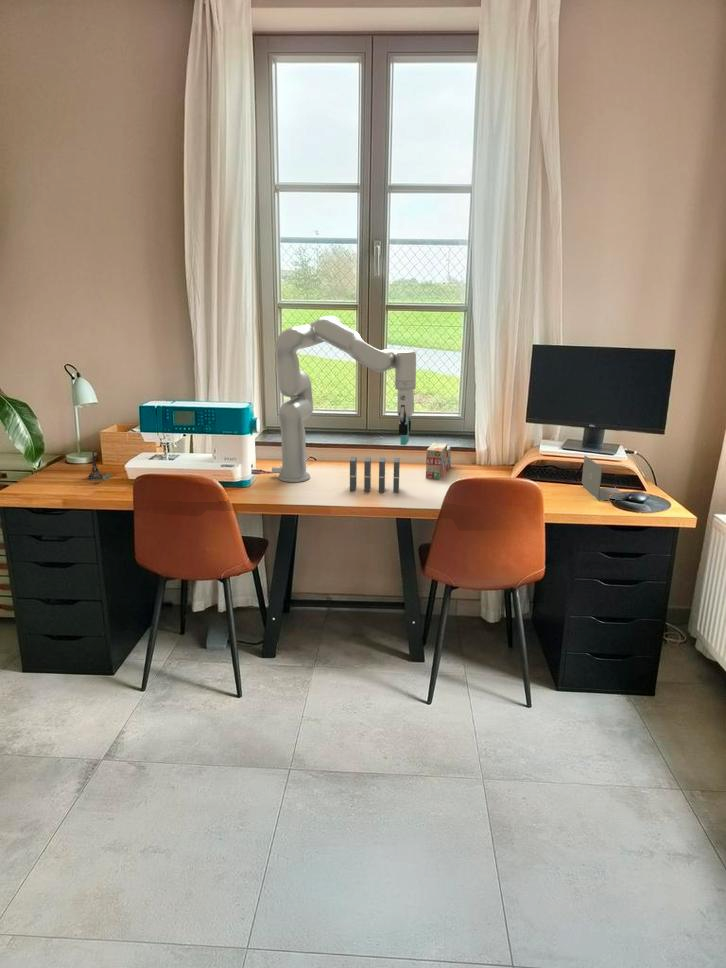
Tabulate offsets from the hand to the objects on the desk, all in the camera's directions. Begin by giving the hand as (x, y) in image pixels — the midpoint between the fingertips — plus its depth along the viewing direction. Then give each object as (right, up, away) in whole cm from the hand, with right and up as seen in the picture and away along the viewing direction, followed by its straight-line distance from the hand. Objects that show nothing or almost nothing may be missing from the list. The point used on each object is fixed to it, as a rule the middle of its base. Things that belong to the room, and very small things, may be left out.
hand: (404, 432), depth 248 cm
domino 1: (-19, -21, +6) cm, 29 cm away
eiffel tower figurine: (-123, -18, +18) cm, 125 cm away
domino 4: (-3, -22, +5) cm, 23 cm away
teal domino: (0, -4, +1) cm, 4 cm away
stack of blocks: (+16, -15, +30) cm, 37 cm away
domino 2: (-14, -21, +6) cm, 26 cm away
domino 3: (-9, -22, +5) cm, 24 cm away
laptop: (+76, -23, +3) cm, 80 cm away
